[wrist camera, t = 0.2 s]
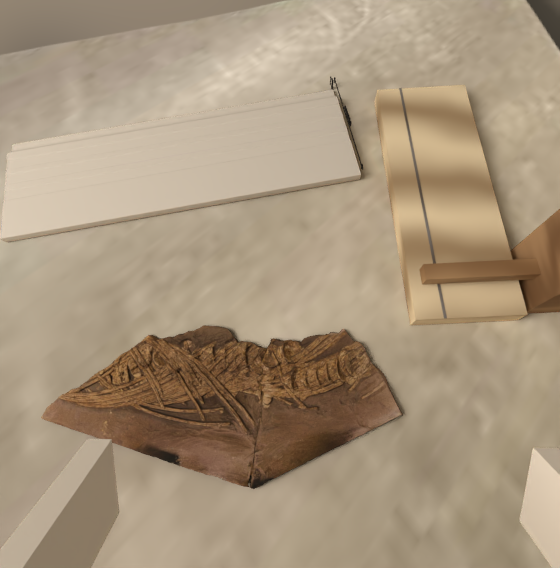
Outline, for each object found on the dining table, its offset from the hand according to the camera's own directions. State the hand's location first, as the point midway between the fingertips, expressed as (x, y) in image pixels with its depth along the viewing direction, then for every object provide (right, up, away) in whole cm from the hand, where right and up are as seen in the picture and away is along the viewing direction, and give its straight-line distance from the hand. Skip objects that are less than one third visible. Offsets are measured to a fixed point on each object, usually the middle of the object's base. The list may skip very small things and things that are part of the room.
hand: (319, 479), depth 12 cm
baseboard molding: (-10, +18, +25) cm, 32 cm away
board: (+12, +14, +21) cm, 28 cm away
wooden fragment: (-6, -3, +17) cm, 18 cm away
